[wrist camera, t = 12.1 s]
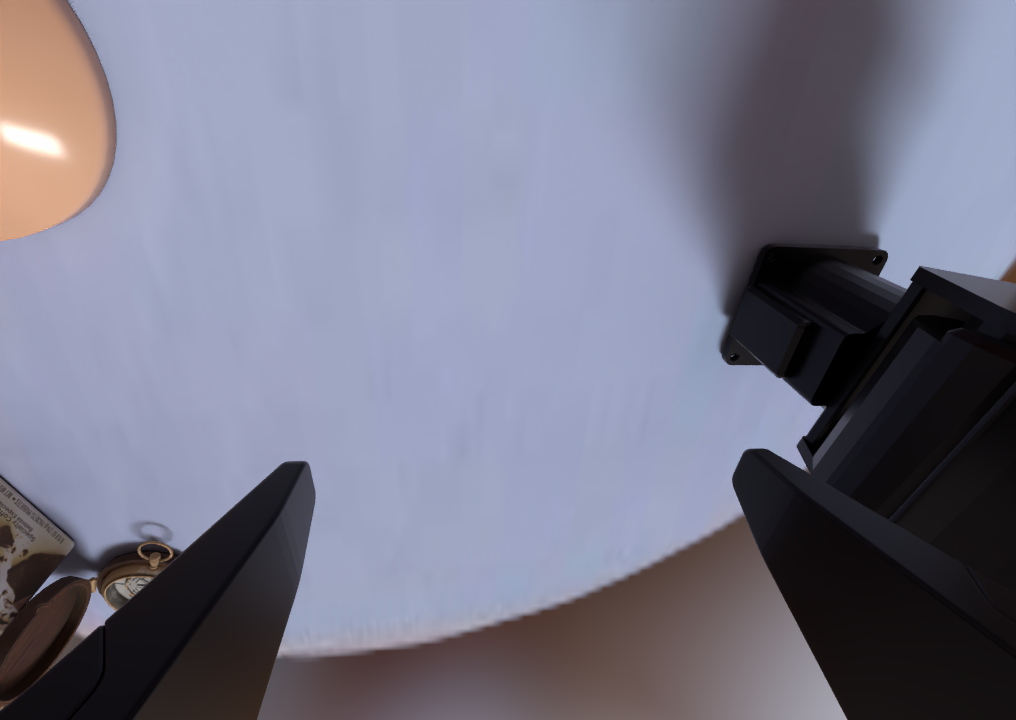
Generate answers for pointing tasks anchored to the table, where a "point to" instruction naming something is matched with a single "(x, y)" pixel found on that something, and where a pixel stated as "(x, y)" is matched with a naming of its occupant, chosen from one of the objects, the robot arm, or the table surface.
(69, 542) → the coffee box
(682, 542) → the table surface
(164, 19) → the table surface
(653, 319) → the table surface
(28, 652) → the compass
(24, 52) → the beige flat disc
